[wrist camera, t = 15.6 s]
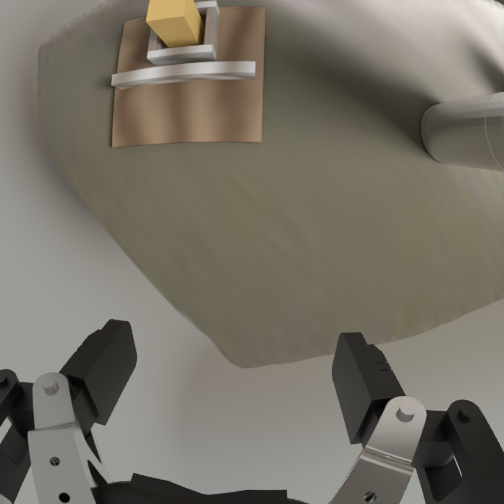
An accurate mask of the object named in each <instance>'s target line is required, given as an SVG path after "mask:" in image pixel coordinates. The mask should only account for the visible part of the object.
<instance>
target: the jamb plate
mask: <svg viewBox="0 0 504 504" xmlns="http://www.w3.org/2000/svg"><path fill="white" fill-rule="evenodd" d="M195 5H196V7H197V9H198V12H199V14H200V16H201V18H202V21H203V23H204V33H203V43H202V45H197V46H186V47H176V48H169V47H168V46H167V45H166V44H165V43H164V42H163V40H162V39H161V38H160V37H159V36H158V35H157V34H156V33H155V31H154V30H153V29H152V28H151V27H150V26H149V25H148V24H147V23H146V18H147V16H146V17H141V18H137V19H132V20H128V21H125V23H124V28H123V34H122V40H121V46H120V53H119V60H118V67H117V74H113V75H112V82H111V85H112V86H115V97H114V111H113V132H112V148H117V147H127V146H138V145H151V144H167V143H190V142H254V143H261V138H262V107H263V75H264V41H265V7H218V5H217V2H216V1H206V2H195Z"/></svg>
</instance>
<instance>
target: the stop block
mask: <svg viewBox="0 0 504 504" xmlns="http://www.w3.org/2000/svg"><path fill="white" fill-rule="evenodd" d="M146 23H147V24H148V25H149V26H150V27H151V28H152V29H153V30H154V31H155V33H156V34H157V35H158V36H159V37H160V38H161V39H162V40H163V42H164V43H165V44H166V45H167V46H168V47H169V48H176V47H186V46H197V45H202V43H203V33H204V23H203V21H202V18H201V16H200V14H199V12H198V9H197V7H196V5H195V3H194V0H150V3H149V7H148V12H147V18H146Z"/></svg>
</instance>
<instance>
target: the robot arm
mask: <svg viewBox="0 0 504 504" xmlns="http://www.w3.org/2000/svg"><path fill="white" fill-rule="evenodd" d="M421 136H422V140H423V143H424V145H425V148H426V149H427V151H428V153H429V154H430V155H431V156H432V157H433V158H434V159H435V160H436V161H438V162H440V163H443V164H448V165H457V166H464V167H472V168H480V169H487V170H493V171H500V172H504V92H499V93H493V94H487V95H481V96H475V97H470V98H465V99H460V100H455V101H450V102H445V103H441V104H436V105H433V106H431V107H429V108H428V109H427V110H426V111H425V113H424V115H423V117H422V120H421ZM136 362H137V353H136V348H135V343H134V339H133V334H132V329H131V325H130V323H129V322H128V321H121V320H114V319H110V320H109V321H108V322H107V323H106V324H105V326H104V327H103V328H102V329H101V330H99V329H98V330H97V331H95V332H94V333H92V334H90V335H89V336H88V337H87V338H86V339H85V341H84V342H83V343H82V345H81V346H80V347H79V348H78V349H77V351H76V352H75V353H74V354H73V355H72V356H71V358H70V359H69V360H68V361H67V363H66V364H65V365H64V366H63V368H62V369H61V370H60V372H59V373H55V372H52V373H47V374H44V375H42V376H40V377H39V378H38V379H37V380H36V381H35V382H34V383H26V382H19V380H18V378H17V376H16V374H15V373H14V372H13V371H12V370H9V369H4V370H0V426H1V425H2V423H3V422H4V420H5V419H6V417H7V418H8V419H9V421H10V422H11V424H12V425H11V427H10V429H9V430H8V432H7V434H6V435H5V437H4V439H3V440H2V442H1V444H0V504H14V502H15V499H16V497H17V495H18V492H19V490H20V488H21V485H22V483H23V481H24V479H25V476H26V474H27V472H28V470H29V468H30V465H31V466H32V471H33V477H34V482H35V487H36V492H37V496H38V500H39V504H308V503H305V502H303V501H299V500H295V499H290V498H287V490H243V491H237V492H230V493H221V494H213V495H206V494H201V493H199V492H196V491H193V490H190V489H187V488H185V487H182V486H180V485H177V484H174V483H172V482H170V481H166V480H161V479H156V478H152V477H147V476H144V475H139V474H136V473H133V476H132V479H131V481H119V482H113V480H112V478H111V476H110V475H109V473H108V471H107V469H106V466H105V464H104V461H103V458H102V456H101V453H100V450H99V447H98V444H97V441H96V438H95V435H94V432H93V430H92V426H93V424H94V422H95V423H98V424H101V425H106V423H107V421H108V419H109V417H110V415H111V413H112V411H113V409H114V407H115V405H116V403H117V401H118V399H119V397H120V395H121V393H122V391H123V389H124V387H125V386H126V384H127V382H128V380H129V378H130V376H131V374H132V372H133V370H134V368H135V366H136ZM332 378H333V382H334V385H335V389H336V393H337V396H338V400H339V403H340V406H341V410H342V414H343V417H344V421H345V424H346V428H347V432H348V436H349V439H350V443H351V444H358V443H362V447H363V450H362V452H361V453H360V455H359V457H358V459H357V460H356V462H355V464H354V465H353V467H352V468H351V470H350V472H349V473H348V475H347V476H346V478H345V480H344V481H343V482H342V484H341V486H340V487H339V488H338V490H337V491H336V493H335V494H334V496H333V497H332V498H331V500H330V501H329V502H328V504H399V503H400V501H401V499H402V497H403V495H404V492H405V490H406V488H407V485H408V483H409V481H410V478H411V476H412V473H413V470H414V468H416V470H417V474H418V478H419V481H420V484H421V488H422V491H423V495H424V499H425V502H426V504H504V452H503V450H502V448H501V446H500V444H499V442H498V441H497V438H496V437H495V435H494V433H493V431H492V429H491V428H490V426H489V424H488V422H487V420H486V419H485V417H484V415H483V414H482V412H481V410H480V409H479V407H478V406H477V405H475V404H474V403H473V402H470V401H468V400H457V401H455V402H453V403H452V404H451V405H450V407H449V408H448V410H447V411H430V410H426V409H425V407H424V406H423V404H422V403H421V402H419V401H418V400H416V399H414V398H411V397H406V395H405V393H404V391H403V389H402V388H401V386H400V384H399V382H398V380H397V379H396V376H395V374H394V373H393V371H392V370H391V367H390V365H389V363H387V360H386V358H385V356H384V354H383V353H382V351H380V350H379V349H377V347H376V346H374V345H373V344H370V345H367V343H366V341H365V339H364V337H363V335H362V333H361V332H352V333H341V334H340V336H339V339H338V344H337V348H336V352H335V356H334V361H333V365H332ZM454 456H455V458H456V461H457V463H458V465H459V468H460V470H461V474H462V478H461V475H460V472H459V470H458V467H457V465H456V462H455V460H454Z"/></svg>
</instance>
